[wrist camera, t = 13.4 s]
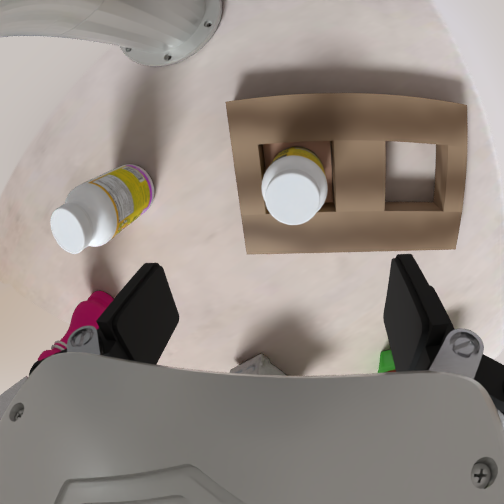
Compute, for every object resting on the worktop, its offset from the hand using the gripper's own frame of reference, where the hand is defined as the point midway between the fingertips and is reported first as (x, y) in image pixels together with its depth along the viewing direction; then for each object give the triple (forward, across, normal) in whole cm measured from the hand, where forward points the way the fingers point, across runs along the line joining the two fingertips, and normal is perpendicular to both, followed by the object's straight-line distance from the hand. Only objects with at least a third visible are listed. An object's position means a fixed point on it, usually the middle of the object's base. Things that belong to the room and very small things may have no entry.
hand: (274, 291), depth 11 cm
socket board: (+21, -7, 0) cm, 22 cm away
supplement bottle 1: (+21, +19, 0) cm, 29 cm away
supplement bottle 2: (+20, 0, 0) cm, 20 cm away
